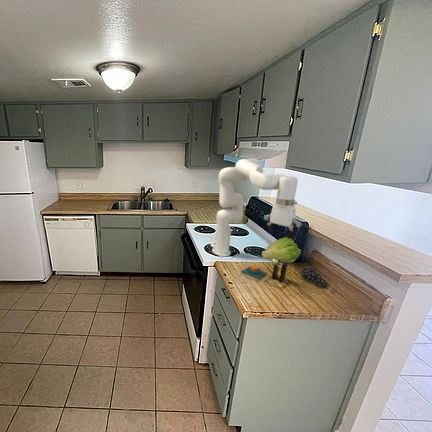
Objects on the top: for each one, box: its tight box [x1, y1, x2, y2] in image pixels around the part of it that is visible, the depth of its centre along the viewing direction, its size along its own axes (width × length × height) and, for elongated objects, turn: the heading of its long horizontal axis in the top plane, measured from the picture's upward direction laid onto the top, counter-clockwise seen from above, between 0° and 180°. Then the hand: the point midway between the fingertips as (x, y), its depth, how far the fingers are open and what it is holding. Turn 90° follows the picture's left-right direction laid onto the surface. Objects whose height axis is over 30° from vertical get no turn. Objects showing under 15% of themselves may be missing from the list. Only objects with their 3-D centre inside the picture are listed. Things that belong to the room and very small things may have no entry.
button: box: [250, 264, 259, 271], centre depth 140 cm, size 4×4×2 cm
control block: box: [240, 265, 267, 280], centre depth 141 cm, size 10×10×4 cm
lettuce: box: [261, 236, 302, 263], centre depth 160 cm, size 15×25×16 cm
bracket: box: [271, 260, 289, 284], centre depth 133 cm, size 12×9×12 cm
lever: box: [270, 259, 284, 269], centre depth 128 cm, size 13×3×3 cm
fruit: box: [299, 265, 329, 289], centre depth 132 cm, size 9×8×15 cm
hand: (279, 235), depth 121 cm, fingers open, 9 cm apart
